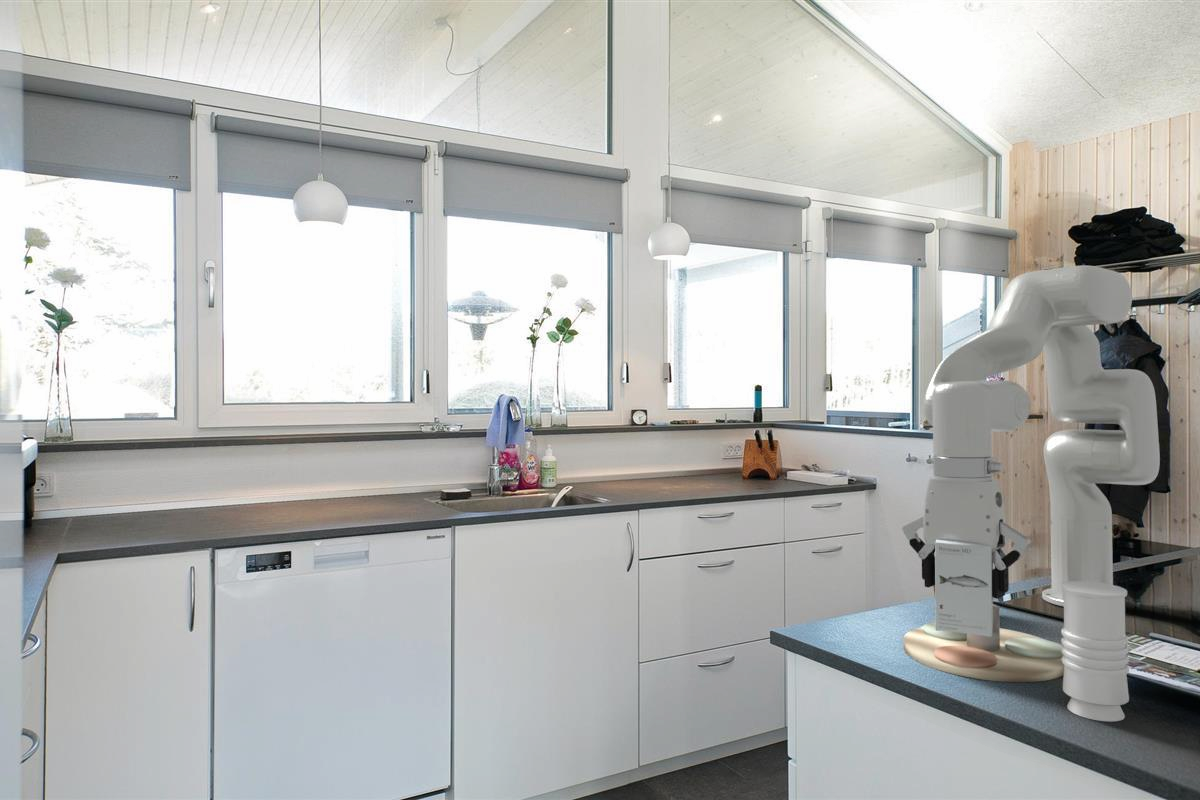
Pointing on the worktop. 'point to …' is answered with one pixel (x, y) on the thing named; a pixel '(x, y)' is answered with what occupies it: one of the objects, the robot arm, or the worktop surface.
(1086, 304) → the robot arm
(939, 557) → the supplement box
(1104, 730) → the worktop surface
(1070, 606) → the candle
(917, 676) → the worktop surface
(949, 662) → the carrier
